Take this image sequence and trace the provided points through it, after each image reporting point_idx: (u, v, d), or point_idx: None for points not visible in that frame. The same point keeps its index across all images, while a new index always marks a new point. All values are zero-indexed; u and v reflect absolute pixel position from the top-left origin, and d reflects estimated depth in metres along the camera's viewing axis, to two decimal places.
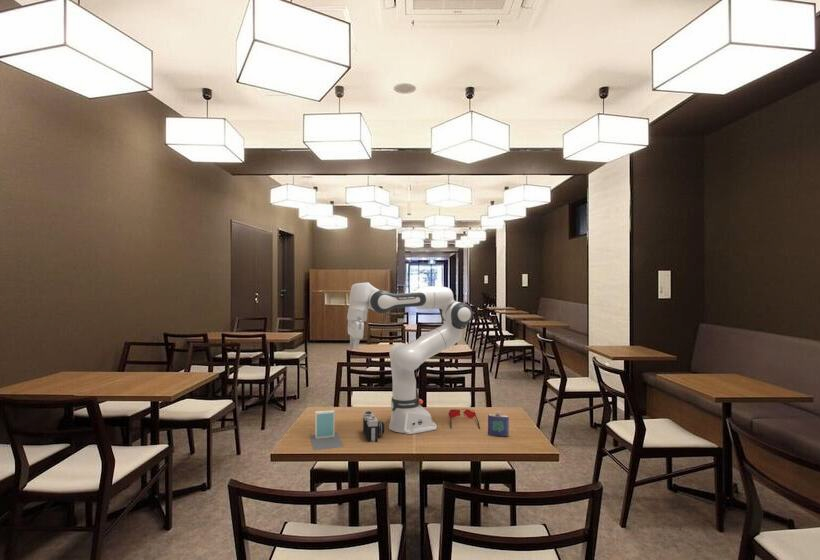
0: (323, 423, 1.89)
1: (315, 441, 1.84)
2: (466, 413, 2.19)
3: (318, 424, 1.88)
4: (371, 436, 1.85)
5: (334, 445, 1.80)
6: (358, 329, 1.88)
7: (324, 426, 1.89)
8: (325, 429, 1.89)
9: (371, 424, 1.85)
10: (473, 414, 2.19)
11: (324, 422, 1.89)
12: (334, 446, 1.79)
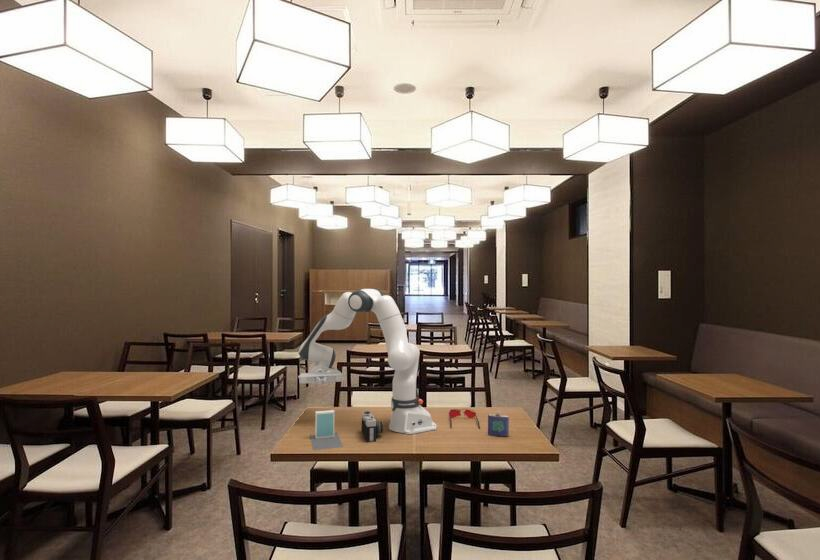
0: (323, 423, 1.89)
1: (315, 441, 1.84)
2: (466, 413, 2.19)
3: (318, 424, 1.88)
4: (369, 436, 1.84)
5: (334, 445, 1.80)
6: None
7: (324, 426, 1.89)
8: (325, 429, 1.89)
9: (370, 424, 1.84)
10: (473, 414, 2.19)
11: (324, 422, 1.89)
12: (334, 446, 1.79)
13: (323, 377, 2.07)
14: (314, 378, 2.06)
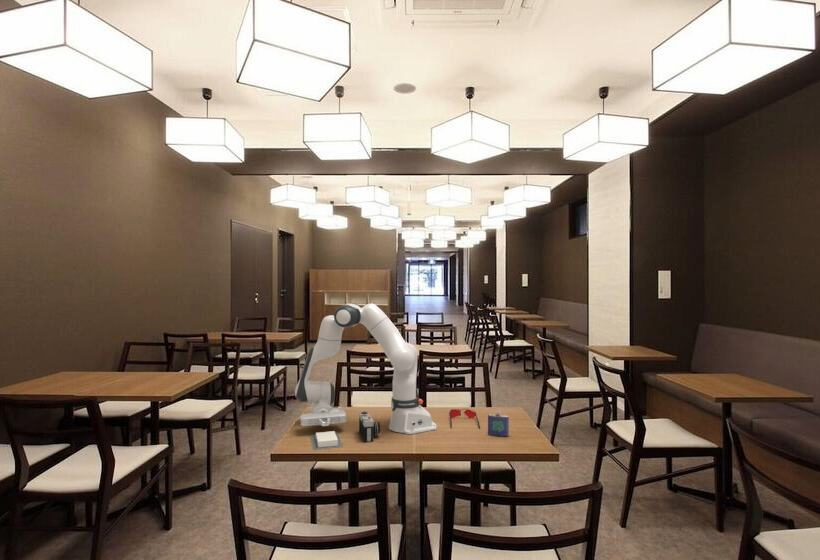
0: None
1: (315, 441, 1.84)
2: (467, 413, 2.19)
3: None
4: (367, 436, 1.84)
5: None
6: None
7: None
8: None
9: (367, 425, 1.84)
10: (474, 414, 2.19)
11: None
12: (334, 446, 1.79)
13: (326, 418, 1.93)
14: (317, 420, 1.92)
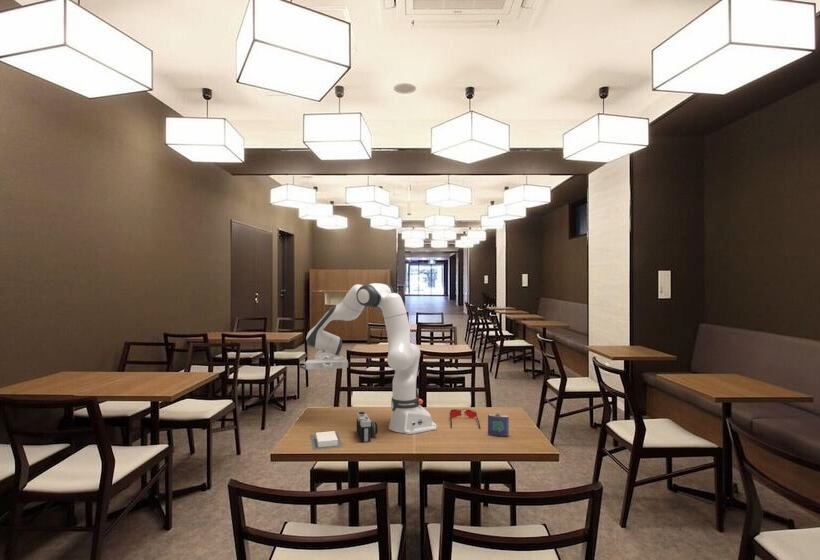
0: None
1: (315, 441, 1.84)
2: (467, 413, 2.19)
3: None
4: (364, 437, 1.84)
5: None
6: None
7: None
8: None
9: (364, 425, 1.84)
10: (474, 414, 2.19)
11: None
12: (334, 446, 1.79)
13: (329, 363, 2.10)
14: (320, 364, 2.09)
